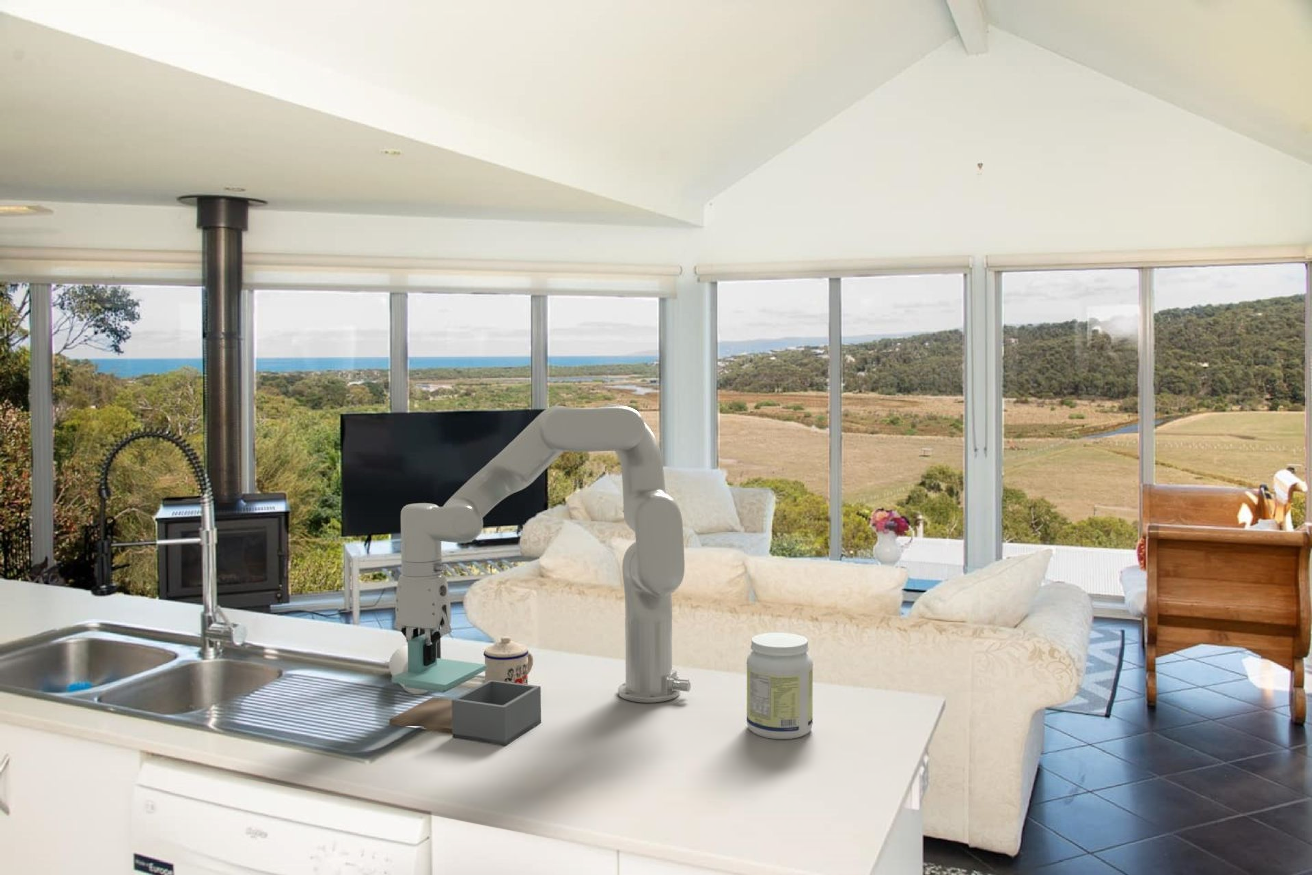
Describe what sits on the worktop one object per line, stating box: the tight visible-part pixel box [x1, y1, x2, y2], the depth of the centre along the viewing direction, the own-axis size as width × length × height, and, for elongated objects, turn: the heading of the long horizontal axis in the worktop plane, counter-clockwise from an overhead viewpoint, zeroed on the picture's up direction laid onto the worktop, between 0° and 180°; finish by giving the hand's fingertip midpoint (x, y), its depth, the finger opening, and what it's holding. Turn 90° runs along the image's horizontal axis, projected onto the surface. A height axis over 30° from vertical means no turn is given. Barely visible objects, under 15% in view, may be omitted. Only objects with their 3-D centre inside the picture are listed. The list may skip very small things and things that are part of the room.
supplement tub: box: [746, 632, 814, 740], centre depth 193 cm, size 12×12×17 cm
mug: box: [388, 644, 429, 695], centre depth 220 cm, size 12×10×8 cm
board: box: [389, 696, 453, 735], centre depth 201 cm, size 14×14×1 cm
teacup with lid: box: [483, 635, 534, 685], centre depth 217 cm, size 12×9×12 cm
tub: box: [451, 680, 542, 747], centre depth 194 cm, size 11×13×7 cm
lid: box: [391, 634, 487, 694], centre depth 200 cm, size 12×14×8 cm
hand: (422, 662), depth 202 cm, fingers closed on lid
